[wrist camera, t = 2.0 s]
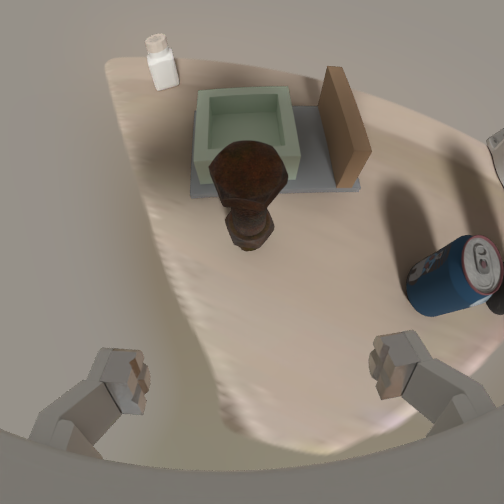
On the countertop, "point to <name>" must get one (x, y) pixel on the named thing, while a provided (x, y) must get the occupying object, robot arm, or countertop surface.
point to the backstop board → (320, 143)
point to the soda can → (455, 276)
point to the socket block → (245, 124)
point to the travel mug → (497, 299)
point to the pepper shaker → (161, 62)
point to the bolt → (248, 189)
